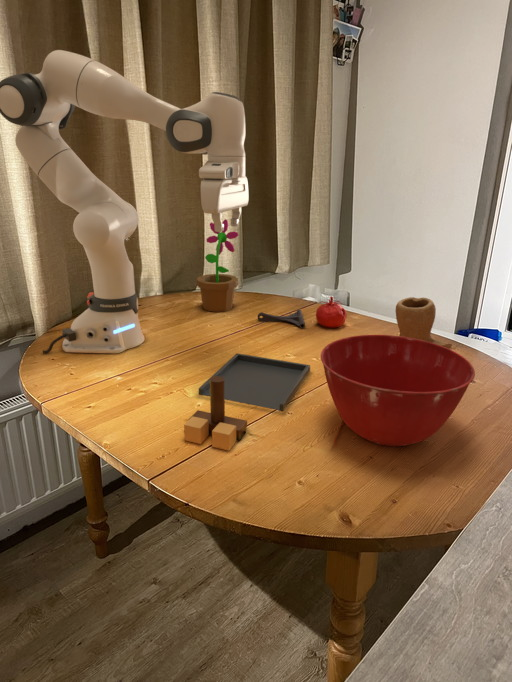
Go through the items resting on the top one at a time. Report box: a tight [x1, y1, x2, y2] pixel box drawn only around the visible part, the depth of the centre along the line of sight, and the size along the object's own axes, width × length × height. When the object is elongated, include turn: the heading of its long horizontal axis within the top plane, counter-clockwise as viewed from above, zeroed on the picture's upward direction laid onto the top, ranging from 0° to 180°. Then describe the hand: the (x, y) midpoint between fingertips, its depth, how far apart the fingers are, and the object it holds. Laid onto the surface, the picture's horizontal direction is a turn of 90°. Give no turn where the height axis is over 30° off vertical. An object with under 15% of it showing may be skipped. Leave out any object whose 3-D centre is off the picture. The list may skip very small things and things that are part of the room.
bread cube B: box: [183, 415, 210, 445], centre depth 97 cm, size 4×4×4 cm
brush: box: [188, 375, 248, 442], centre depth 98 cm, size 11×4×12 cm, turn 69°
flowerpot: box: [196, 218, 239, 313], centre depth 170 cm, size 14×14×30 cm
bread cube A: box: [211, 422, 237, 452], centre depth 95 cm, size 4×4×4 cm
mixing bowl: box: [320, 334, 476, 447], centre depth 99 cm, size 28×28×16 cm
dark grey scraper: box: [257, 309, 306, 329], centre depth 162 cm, size 14×15×3 cm
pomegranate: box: [315, 295, 348, 329], centre depth 158 cm, size 10×10×9 cm
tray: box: [198, 352, 311, 412], centre depth 119 cm, size 22×20×2 cm
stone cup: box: [395, 296, 453, 350], centre depth 138 cm, size 15×12×15 cm
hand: (227, 228), depth 123 cm, fingers open, 8 cm apart
